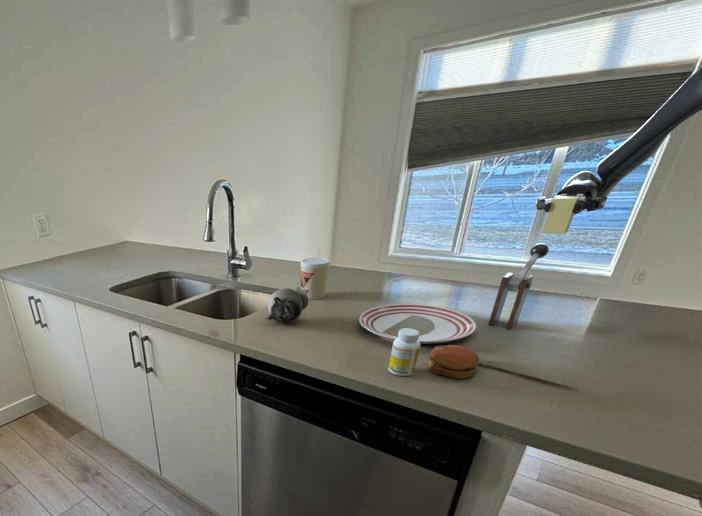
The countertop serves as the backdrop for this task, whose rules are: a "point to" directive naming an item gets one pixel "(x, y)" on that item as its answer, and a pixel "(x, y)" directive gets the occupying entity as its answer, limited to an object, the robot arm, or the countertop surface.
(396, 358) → the supplement bottle
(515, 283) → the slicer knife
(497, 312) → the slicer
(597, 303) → the countertop surface
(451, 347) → the burger
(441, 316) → the dinner plate
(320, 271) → the coffee cup
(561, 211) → the butter
